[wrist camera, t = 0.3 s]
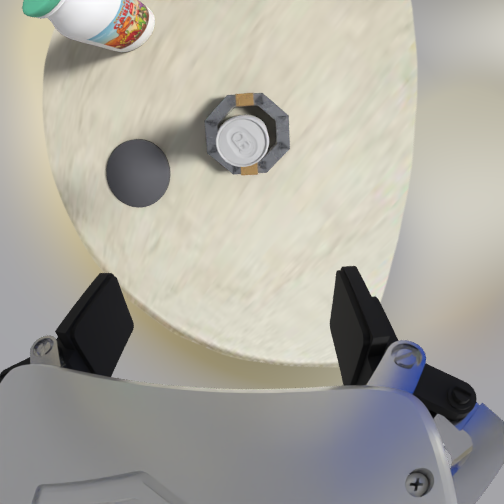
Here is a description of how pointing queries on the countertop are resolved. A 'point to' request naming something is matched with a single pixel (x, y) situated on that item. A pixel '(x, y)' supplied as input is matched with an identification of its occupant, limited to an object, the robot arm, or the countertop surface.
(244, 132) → the beverage can
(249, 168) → the ring
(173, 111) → the countertop surface
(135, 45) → the milk bottle
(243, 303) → the countertop surface
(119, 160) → the slate coaster
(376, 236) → the countertop surface
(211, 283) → the countertop surface
